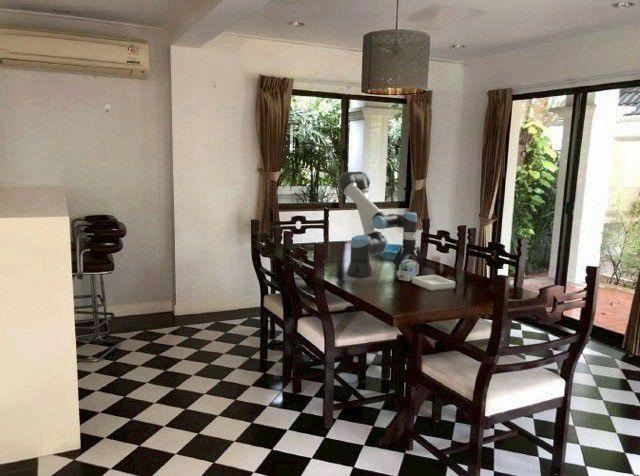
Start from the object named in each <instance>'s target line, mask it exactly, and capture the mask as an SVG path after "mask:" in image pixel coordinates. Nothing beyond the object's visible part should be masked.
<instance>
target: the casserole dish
mask: <svg viewBox="0 0 640 476" xmlns="http://www.w3.org/2000/svg"><path fill="white" fill-rule="evenodd" d="M398 248H403V244H397V243H388V246H387V249H386V251H385V252H384V253H381V254H379V255H378V256H379V257H380V256H381V257H380V258H382V259H383V260H385V261H394V260H395V257H396V254H397V252H398ZM402 252H403V250H402ZM404 254H405V253H404ZM401 255H402V253H401ZM410 256H411V255H410V254H409V255H406V256H405V257H404V259H403V261H404V260H407V259H409V258H410Z"/></svg>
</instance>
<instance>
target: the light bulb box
mask: <svg viewBox="0 0 640 476" xmlns="http://www.w3.org/2000/svg"><path fill="white" fill-rule="evenodd" d="M400 265H401V275H400V276H398V280H400V281H405V282H410V281H412V277H417V274H416V271H417V261H415V259H414V260H413V259H409V258H408V259H406V260H403V261H402V262H401V264H400Z"/></svg>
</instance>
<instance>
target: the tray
mask: <svg viewBox="0 0 640 476" xmlns="http://www.w3.org/2000/svg"><path fill="white" fill-rule="evenodd" d="M411 283H412V284H414V285H416V286H418V287H422V288H424V289H426V290H429V291H431V292H432V291H433V292H435V291H440V290H441V291H442V290H451V289H456V281H455V280H450V279H448V278H445V277H443V276H440V275H437V274H429V275H419V276H416V277H412V280H411Z"/></svg>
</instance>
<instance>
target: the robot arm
mask: <svg viewBox="0 0 640 476" xmlns="http://www.w3.org/2000/svg"><path fill="white" fill-rule="evenodd" d="M370 184H371V178H370V176H369V175H368V174H367V173H366V172H363V171H346V172H342V173H341V174H340V176H339V177H338V179H337V186H338V189H339V190H340V192H342V194H343V195H345V196H348V198H350V199H351V200H352V202H354V203H355V204H356V207H357V211H358V215H359V218H360V222H361V223H360V224H361V226H362V228H363V232H364V233H363V234H359V235H354V236H353V237H352V238H351V241H350V261H349V264H348V267H347V271H346V274H347V275H348V276H350V277H354V278H355V277H356V278H365V277H366V278H367V277H371V276H372V275H373V270H372V268H371V267H372V266H371V263H370V261H371V258H370V257H371V256H377V255H378V256H379V254H381V253H384V252H385V251H386V249H387V246H388V244H389V242H388V238H386V236H385V235H383V234H382V231H381V230H384V229H392V228H402V245H403V248H398V252H397V254H396V257H395V260H393V261H392V262H393V263H392V264H394V265H395V270H396V276H397V277H399V276H400V275H401V265H400V264H401V262H402V261H404V260H403V259H404V257H405V256H406V255H409V254H410V256H412V258H413V259H414V261H417V271H416V276H417V275H419V269H420V266H421V264H422V263H423V262H424V261H423V258H422V254H421V251H420V249H421V248H420V246H416V245H417V243H416V241H417V240H416V238H417V226H418V225H417V223H418V215H417V212H412V211H411V212H410V211H406V212H404V213H403V214H398V213H388V214H387V215H385V214H384V212H382V211H381V209H380V208H379V207H377V205H376V204H375V203H374V202H372V200H370V197H369V195H368V194H369V190H370V189H369V188H370ZM402 250H403V252H402ZM401 253H402V255H401ZM404 253H405V254H404Z"/></svg>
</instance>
